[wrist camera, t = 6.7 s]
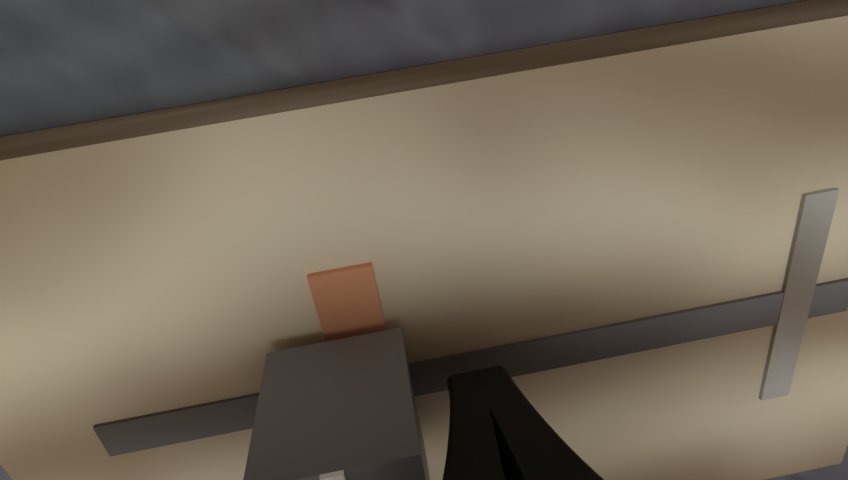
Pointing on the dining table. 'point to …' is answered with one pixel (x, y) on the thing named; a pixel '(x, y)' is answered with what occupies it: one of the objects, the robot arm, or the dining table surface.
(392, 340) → the fader knob
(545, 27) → the dining table surface
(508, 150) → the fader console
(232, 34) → the dining table surface
